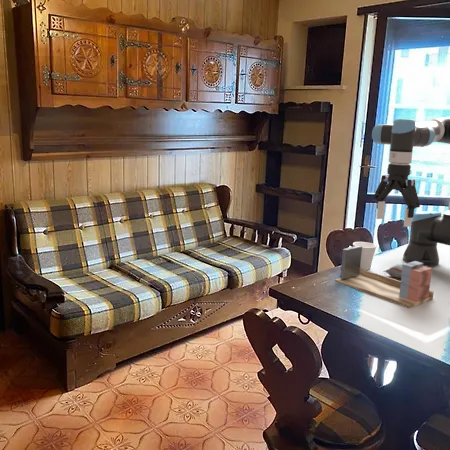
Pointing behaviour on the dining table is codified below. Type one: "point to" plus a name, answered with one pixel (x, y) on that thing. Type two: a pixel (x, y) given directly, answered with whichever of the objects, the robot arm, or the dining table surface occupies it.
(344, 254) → the bookend
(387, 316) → the dining table surface
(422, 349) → the dining table surface
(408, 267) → the wooden book rack
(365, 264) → the cup
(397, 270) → the packaged food
